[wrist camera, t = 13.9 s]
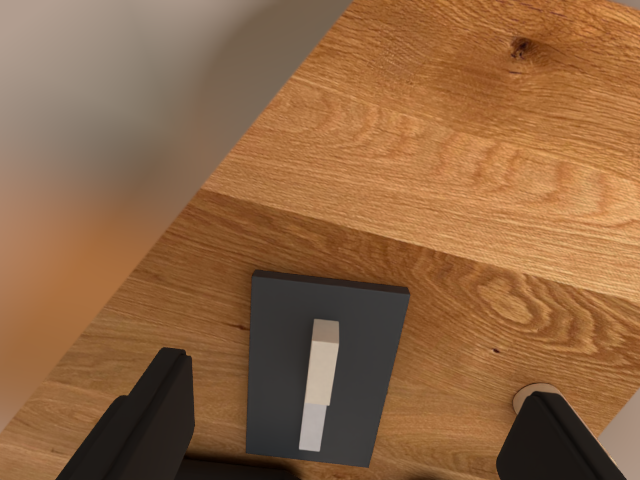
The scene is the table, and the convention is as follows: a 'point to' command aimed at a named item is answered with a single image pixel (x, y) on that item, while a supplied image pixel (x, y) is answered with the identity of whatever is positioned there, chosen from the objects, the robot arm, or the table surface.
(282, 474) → the portable speaker
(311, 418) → the white stepped bar
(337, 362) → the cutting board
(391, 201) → the table surface
